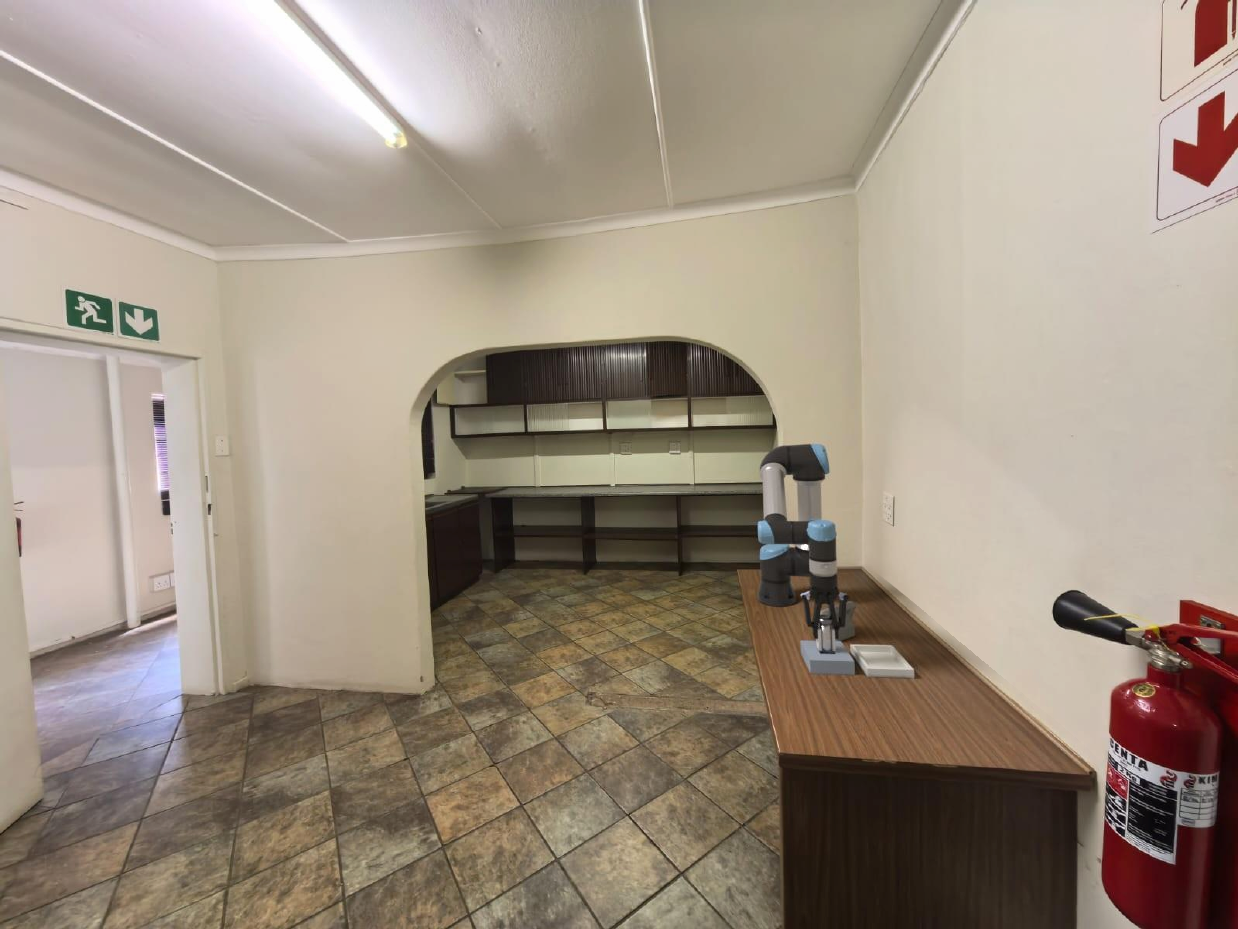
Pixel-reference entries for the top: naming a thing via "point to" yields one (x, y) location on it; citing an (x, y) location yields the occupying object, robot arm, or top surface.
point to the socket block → (827, 659)
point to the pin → (826, 633)
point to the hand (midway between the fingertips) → (825, 648)
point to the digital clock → (849, 624)
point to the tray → (881, 661)
